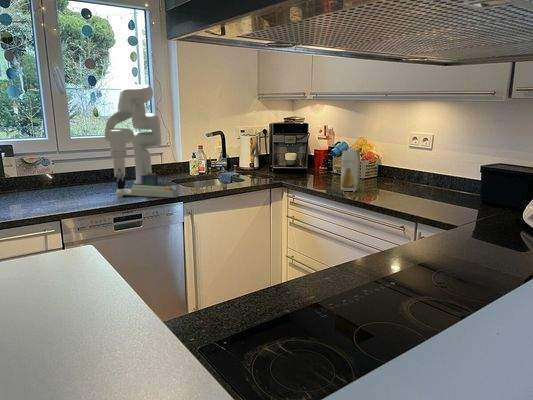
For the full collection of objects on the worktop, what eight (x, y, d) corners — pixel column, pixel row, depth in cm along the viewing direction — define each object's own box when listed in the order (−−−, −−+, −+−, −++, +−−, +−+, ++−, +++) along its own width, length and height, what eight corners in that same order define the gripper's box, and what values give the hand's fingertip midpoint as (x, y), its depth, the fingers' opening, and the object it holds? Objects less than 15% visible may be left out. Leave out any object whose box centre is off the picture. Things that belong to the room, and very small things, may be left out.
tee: (103, 199, 211) (103, 196, 211) (109, 198, 212) (108, 195, 212) (103, 200, 209) (103, 197, 209) (108, 199, 210) (108, 196, 209)
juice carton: (339, 191, 228) (340, 148, 223) (343, 189, 235) (345, 147, 230) (355, 193, 224) (357, 149, 219) (359, 190, 230) (361, 148, 225)
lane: (118, 196, 217) (117, 185, 216) (175, 193, 225) (174, 182, 224) (116, 201, 207) (115, 189, 206) (176, 197, 215) (176, 186, 214)
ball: (167, 193, 221) (162, 188, 219) (173, 189, 221) (168, 183, 220) (167, 195, 217) (162, 189, 216) (173, 190, 217) (168, 185, 216)
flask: (141, 190, 232) (140, 172, 229) (141, 189, 234) (140, 171, 232) (158, 189, 234) (157, 171, 232) (157, 188, 237) (156, 170, 235)
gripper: (112, 152, 214) (115, 184, 218) (109, 156, 198) (112, 190, 202) (127, 152, 216) (129, 183, 220) (125, 156, 200) (128, 190, 204)
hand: (121, 187), depth 211 cm, fingers open, 9 cm apart
